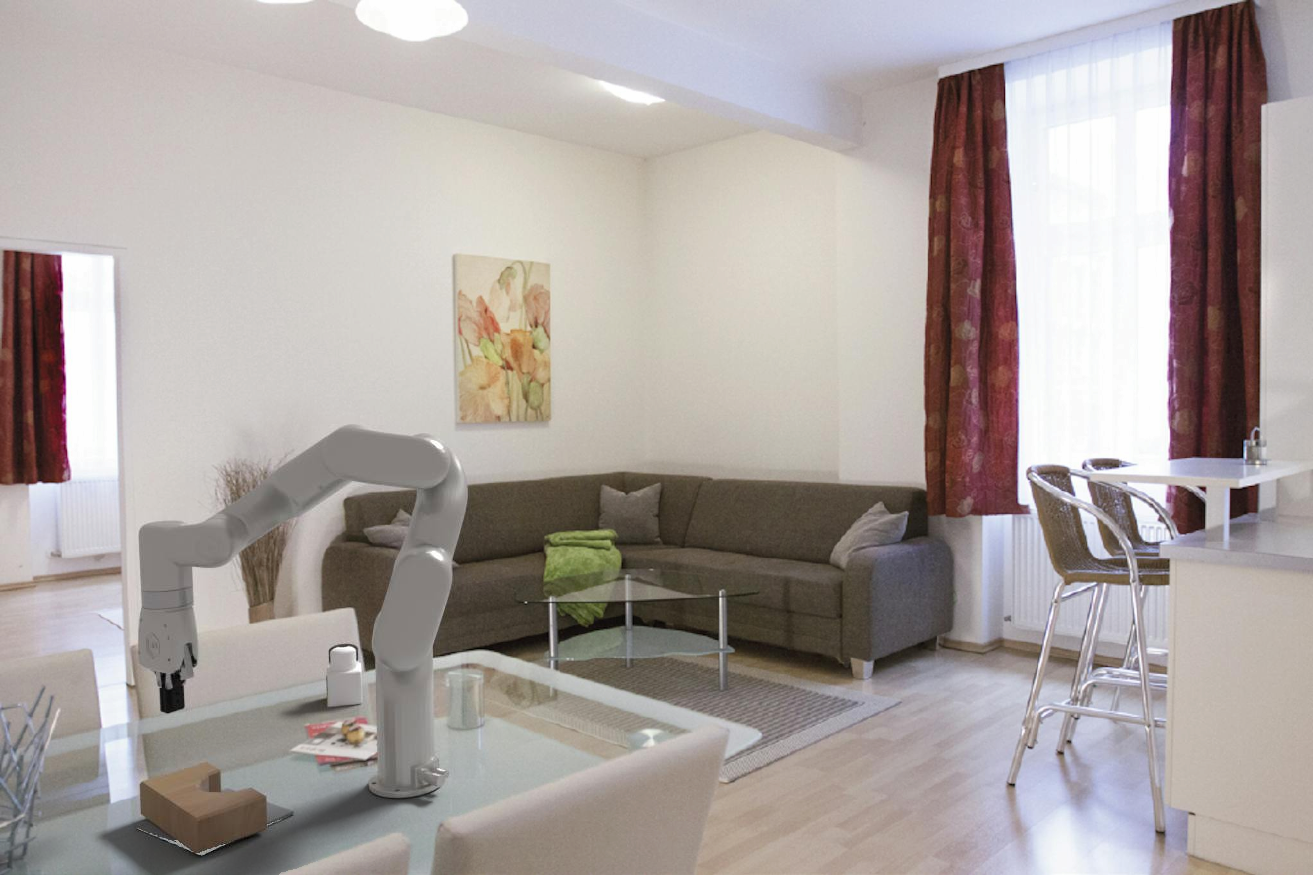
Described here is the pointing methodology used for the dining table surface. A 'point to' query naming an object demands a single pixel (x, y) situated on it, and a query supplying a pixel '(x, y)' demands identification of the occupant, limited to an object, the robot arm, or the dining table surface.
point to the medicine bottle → (343, 676)
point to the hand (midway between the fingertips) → (172, 710)
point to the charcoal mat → (272, 810)
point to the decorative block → (202, 808)
